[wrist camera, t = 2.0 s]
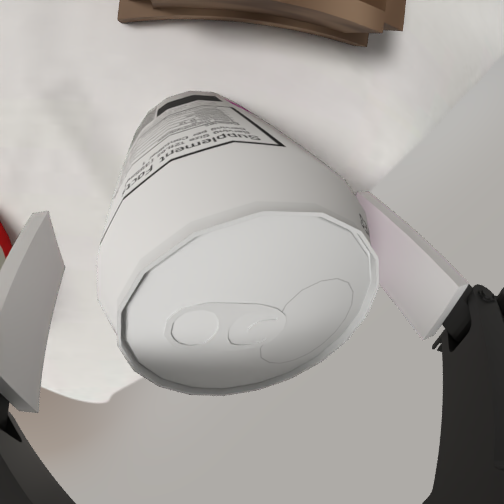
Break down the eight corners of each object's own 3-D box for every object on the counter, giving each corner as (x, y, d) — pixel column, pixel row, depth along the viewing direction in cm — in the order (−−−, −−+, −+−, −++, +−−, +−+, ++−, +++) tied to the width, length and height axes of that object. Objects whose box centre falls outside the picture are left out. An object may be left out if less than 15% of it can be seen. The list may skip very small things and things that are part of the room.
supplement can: (268, 107, 18) (442, 222, 7) (231, 209, 22) (313, 390, 11) (149, 78, 15) (95, 131, 3) (125, 194, 19) (103, 402, 8)
